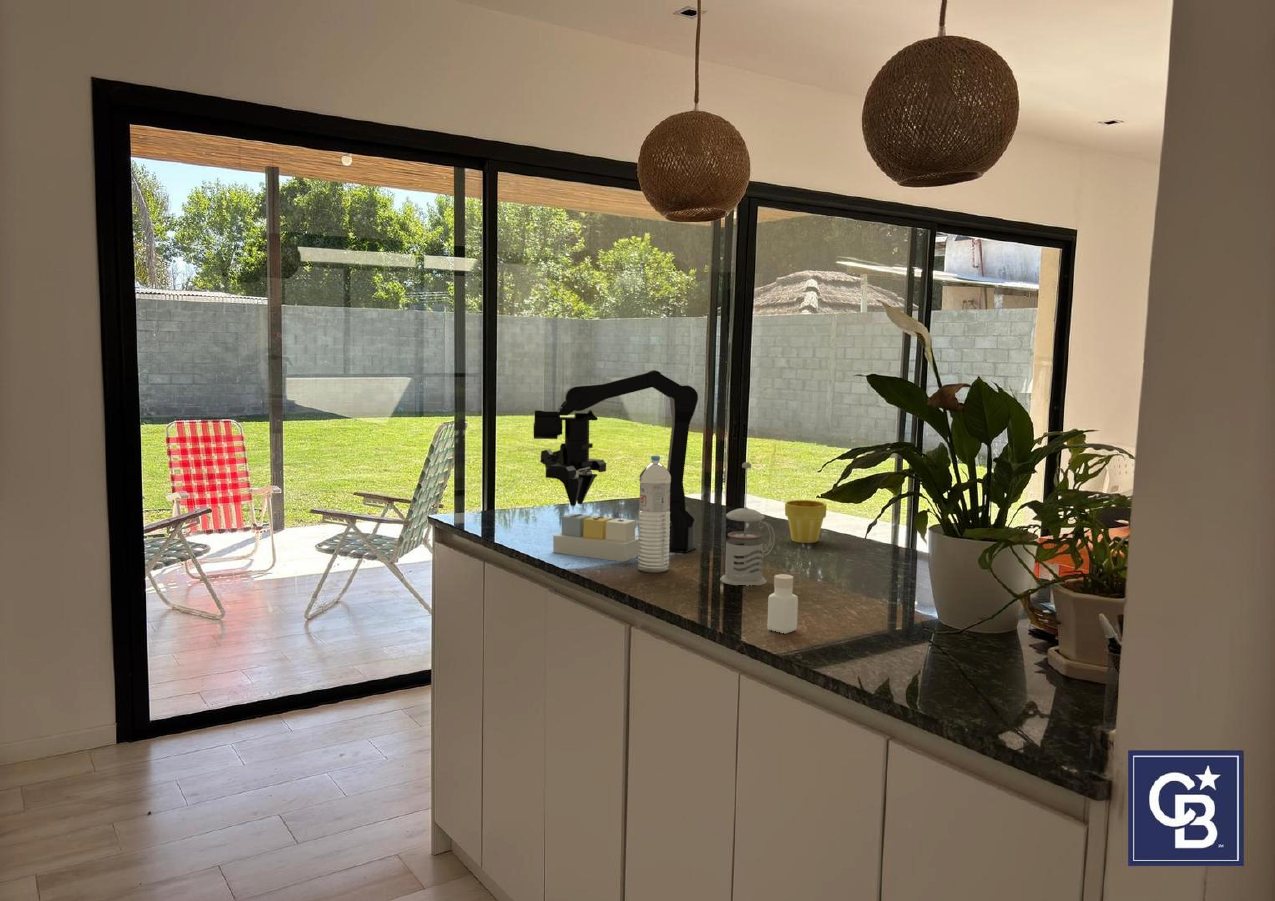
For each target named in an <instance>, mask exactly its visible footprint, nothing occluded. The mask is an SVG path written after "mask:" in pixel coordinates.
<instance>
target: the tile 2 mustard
mask: <svg viewBox="0 0 1275 901" xmlns="http://www.w3.org/2000/svg"><path fill="white" fill-rule="evenodd" d="M613 519H614V517H608V516H597V515H593V516H591V517H589V518H586V519H584V529H583V538H591V539H599V540H604V539H606V522H607V521H610V520H613Z"/></svg>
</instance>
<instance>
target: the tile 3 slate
mask: <svg viewBox="0 0 1275 901" xmlns="http://www.w3.org/2000/svg"><path fill="white" fill-rule="evenodd" d="M589 517H592V516H591V515H590V514H589V515H587V514H582V513H570V514H567V515H562V516H561V533H562V534H561V535H567V536H575V537H582V536H583V529H584V519H586V518H589Z"/></svg>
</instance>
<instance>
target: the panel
mask: <svg viewBox="0 0 1275 901" xmlns="http://www.w3.org/2000/svg"><path fill="white" fill-rule="evenodd" d="M561 534H562V532H561V533H557V534H555V535H552V538H553V539H552V540H553V543H552V546H553V548H552V551H553V553H555V552H556V554H564V555H572V556H578V557H586V558H593V559H600V560H601V559H602V560H608V561H609V560H610V561H615V560H616V562H617V561H618V562H623V563H625V562H627V561H630V560H632V559H635V558H638V540H639V539H638V536H635V539H634V540H632V541H629V542H626V543H624V542H616V541H608V540H606V539H604V540H599V539H591V538H583V536H582V537H575V536H567V535H561Z"/></svg>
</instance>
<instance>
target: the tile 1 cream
mask: <svg viewBox="0 0 1275 901" xmlns="http://www.w3.org/2000/svg"><path fill="white" fill-rule="evenodd" d="M635 537H636V520H635V519H626V518H625V519H624V518H613V520H610V521H607V522H606V540H608V541H616V542H624V543H626V542H629V541H632V540H634V539H635Z"/></svg>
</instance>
